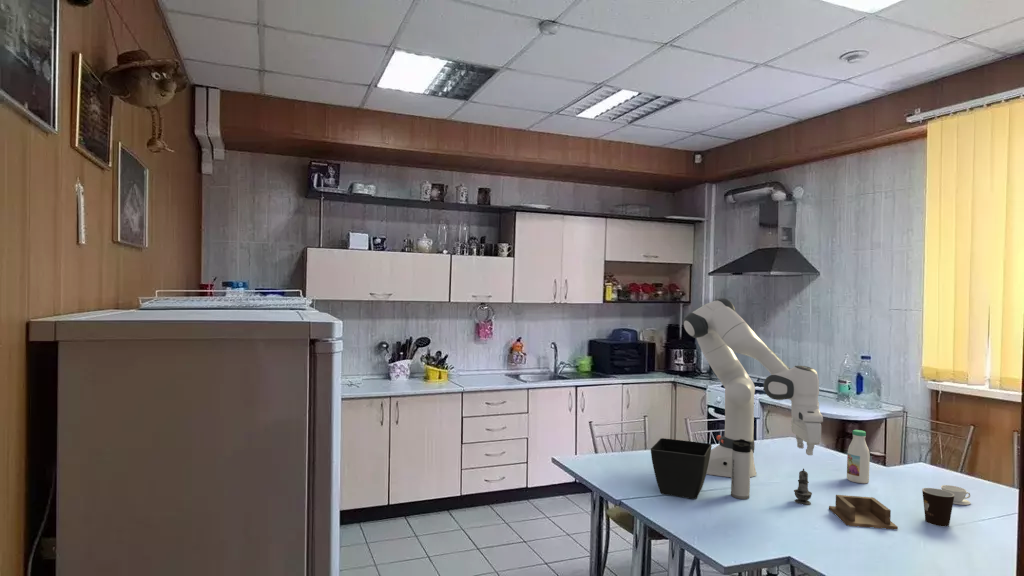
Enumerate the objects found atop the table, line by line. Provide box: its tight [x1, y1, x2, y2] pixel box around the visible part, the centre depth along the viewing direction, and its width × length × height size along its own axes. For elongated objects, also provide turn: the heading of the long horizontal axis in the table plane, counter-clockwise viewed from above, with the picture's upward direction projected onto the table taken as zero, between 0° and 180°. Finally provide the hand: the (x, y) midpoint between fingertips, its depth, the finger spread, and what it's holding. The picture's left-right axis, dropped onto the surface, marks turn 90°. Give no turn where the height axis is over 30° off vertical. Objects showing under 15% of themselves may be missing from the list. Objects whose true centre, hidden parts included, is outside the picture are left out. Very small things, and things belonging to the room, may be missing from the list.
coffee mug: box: [921, 487, 954, 528], centre depth 198 cm, size 12×9×10 cm
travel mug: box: [730, 439, 751, 500], centre depth 216 cm, size 6×7×20 cm
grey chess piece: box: [793, 468, 813, 506], centre depth 212 cm, size 6×6×12 cm
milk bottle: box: [846, 429, 871, 484], centre depth 239 cm, size 8×8×20 cm
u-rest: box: [828, 494, 899, 530], centre depth 198 cm, size 15×15×6 cm
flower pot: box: [650, 437, 713, 500], centre depth 219 cm, size 19×19×17 cm
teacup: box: [940, 484, 971, 506], centre depth 219 cm, size 10×10×5 cm
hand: (804, 451), depth 212 cm, fingers open, 8 cm apart
